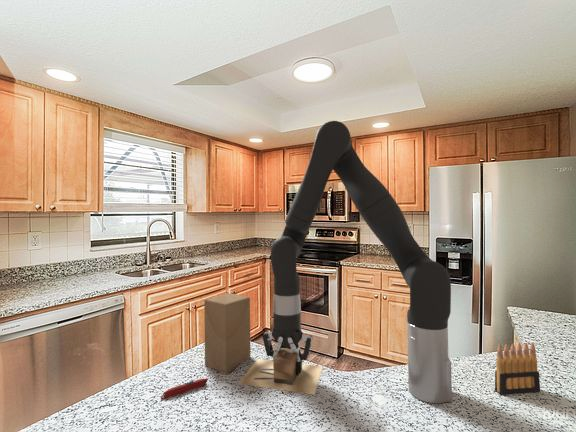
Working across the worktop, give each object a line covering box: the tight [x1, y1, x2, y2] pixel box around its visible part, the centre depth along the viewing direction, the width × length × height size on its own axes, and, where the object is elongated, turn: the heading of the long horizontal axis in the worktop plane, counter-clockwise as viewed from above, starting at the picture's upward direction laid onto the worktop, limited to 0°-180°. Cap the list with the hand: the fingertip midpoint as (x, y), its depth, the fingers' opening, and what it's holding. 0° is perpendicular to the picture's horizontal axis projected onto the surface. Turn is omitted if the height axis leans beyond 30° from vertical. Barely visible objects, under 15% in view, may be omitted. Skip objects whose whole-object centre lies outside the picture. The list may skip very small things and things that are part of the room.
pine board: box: [238, 358, 324, 395], centre depth 81 cm, size 20×14×2 cm
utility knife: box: [160, 378, 209, 400], centre depth 76 cm, size 12×1×2 cm, turn 124°
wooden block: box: [203, 293, 251, 375], centre depth 91 cm, size 10×10×20 cm
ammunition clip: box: [494, 342, 541, 396], centre depth 74 cm, size 11×2×12 cm, turn 95°
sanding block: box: [274, 348, 297, 385], centre depth 81 cm, size 5×9×6 cm, turn 165°
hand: (287, 372), depth 81 cm, fingers closed on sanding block, 5 cm apart
